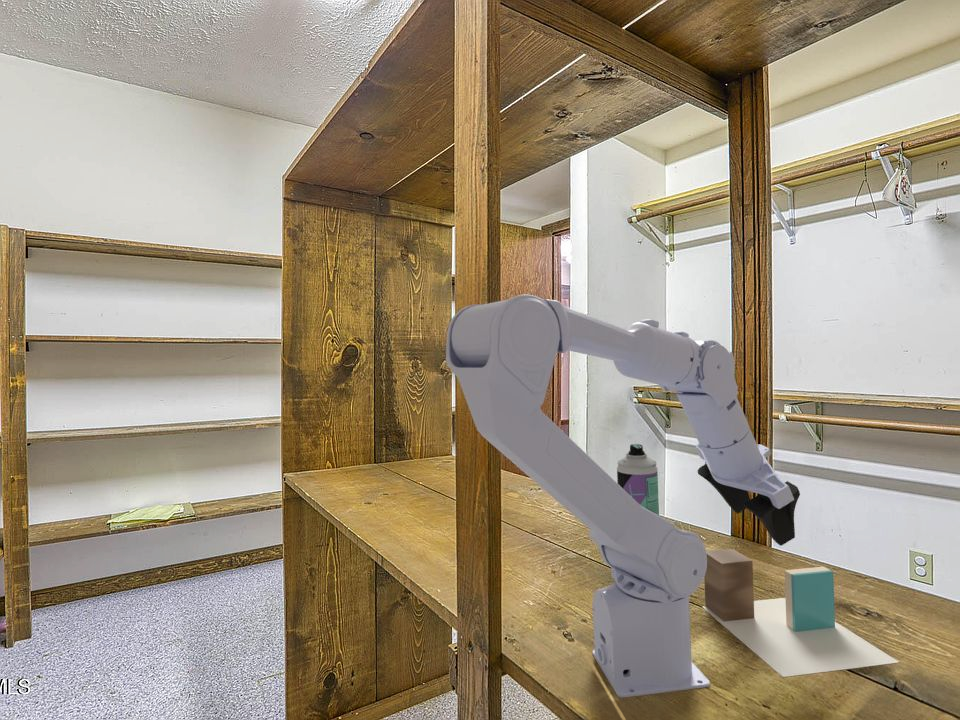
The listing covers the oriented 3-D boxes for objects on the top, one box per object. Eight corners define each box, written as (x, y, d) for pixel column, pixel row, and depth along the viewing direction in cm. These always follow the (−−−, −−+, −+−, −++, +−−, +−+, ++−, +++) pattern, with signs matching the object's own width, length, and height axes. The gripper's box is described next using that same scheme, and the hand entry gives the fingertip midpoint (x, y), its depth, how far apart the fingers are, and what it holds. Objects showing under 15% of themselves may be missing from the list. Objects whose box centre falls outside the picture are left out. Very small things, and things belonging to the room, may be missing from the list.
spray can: (635, 574, 79) (630, 440, 79) (669, 585, 75) (664, 444, 75) (613, 586, 75) (608, 445, 75) (648, 598, 71) (642, 450, 71)
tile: (795, 631, 61) (793, 575, 61) (786, 625, 62) (784, 570, 62) (835, 627, 62) (833, 571, 61) (825, 621, 63) (823, 566, 63)
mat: (783, 680, 53) (782, 676, 53) (701, 609, 68) (701, 606, 68) (899, 666, 54) (899, 662, 54) (795, 599, 69) (795, 596, 69)
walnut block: (723, 621, 64) (721, 563, 64) (705, 606, 68) (703, 551, 68) (754, 618, 64) (752, 560, 64) (734, 603, 68) (732, 548, 68)
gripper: (799, 436, 54) (839, 537, 58) (714, 398, 68) (751, 481, 72) (741, 472, 54) (785, 571, 57) (668, 426, 68) (707, 508, 71)
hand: (763, 523), depth 65 cm, fingers open, 7 cm apart
